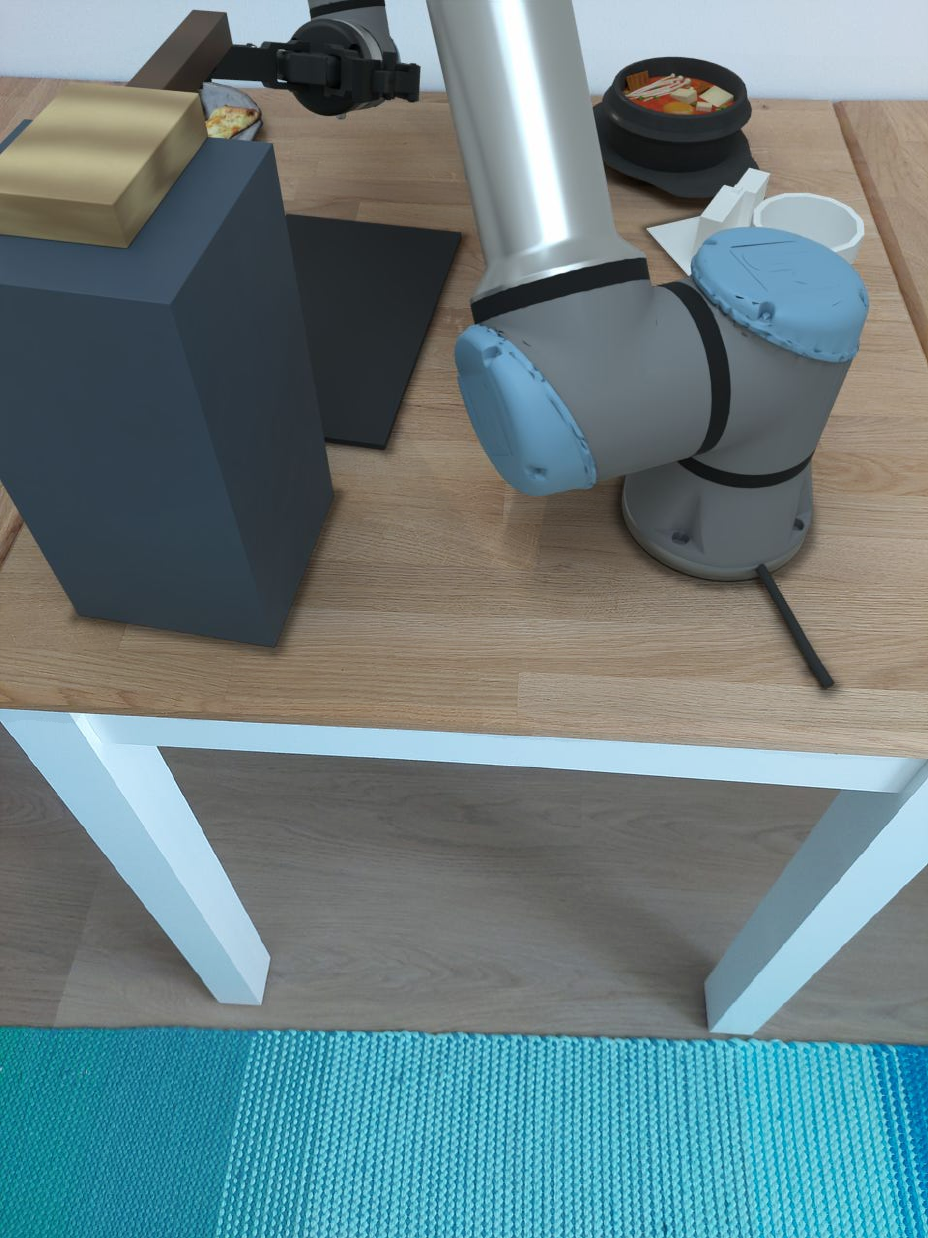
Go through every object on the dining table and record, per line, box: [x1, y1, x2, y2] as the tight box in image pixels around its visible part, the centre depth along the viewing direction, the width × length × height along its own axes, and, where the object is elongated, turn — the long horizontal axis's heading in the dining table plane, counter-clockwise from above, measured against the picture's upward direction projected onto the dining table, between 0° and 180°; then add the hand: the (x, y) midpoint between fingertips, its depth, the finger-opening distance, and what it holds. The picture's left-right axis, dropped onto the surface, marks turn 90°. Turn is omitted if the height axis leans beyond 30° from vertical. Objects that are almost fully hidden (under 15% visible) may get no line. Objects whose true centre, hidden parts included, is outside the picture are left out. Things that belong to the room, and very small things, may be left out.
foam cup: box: [749, 192, 865, 266], centre depth 85 cm, size 10×9×13 cm
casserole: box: [592, 56, 761, 199], centre depth 108 cm, size 25×19×8 cm
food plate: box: [196, 81, 264, 141], centre depth 113 cm, size 25×23×4 cm
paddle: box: [0, 9, 234, 249], centre depth 55 cm, size 24×8×2 cm, turn 169°
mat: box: [285, 213, 462, 451], centre depth 93 cm, size 34×20×1 cm, turn 169°
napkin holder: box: [646, 168, 771, 277], centre depth 99 cm, size 15×11×6 cm
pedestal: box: [0, 118, 335, 648], centre depth 64 cm, size 16×16×30 cm
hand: (265, 71), depth 68 cm, fingers open, 13 cm apart
